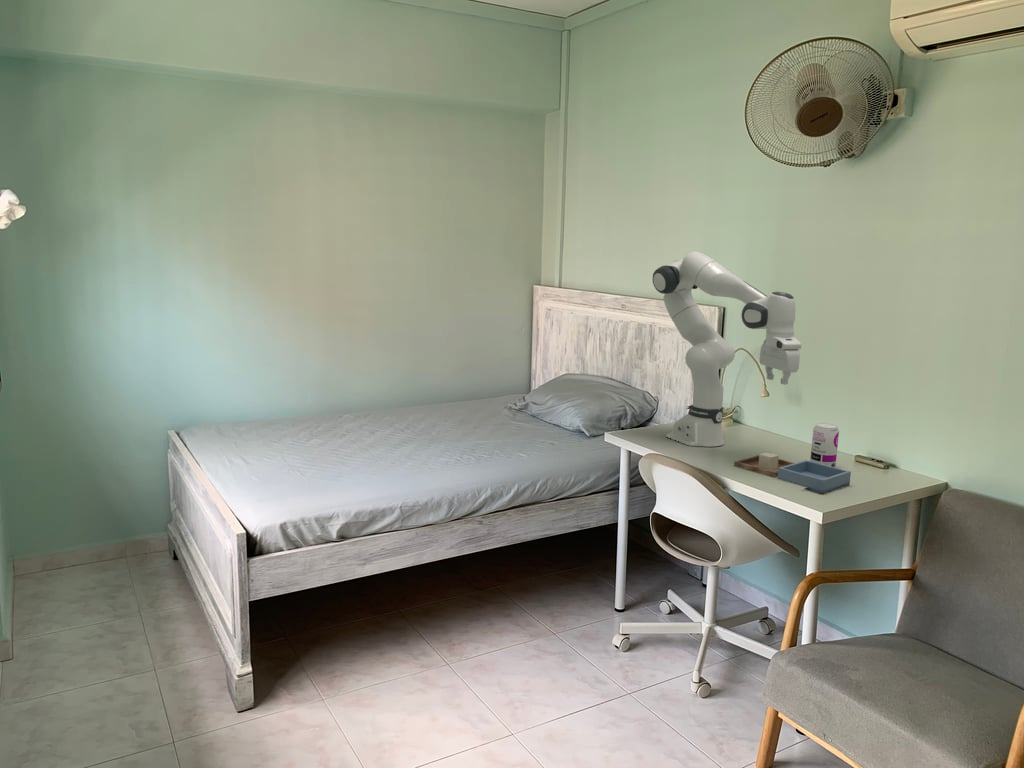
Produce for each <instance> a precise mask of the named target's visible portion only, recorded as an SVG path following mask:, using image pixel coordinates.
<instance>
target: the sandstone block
mask: <svg viewBox="0 0 1024 768" xmlns="http://www.w3.org/2000/svg"><path fill="white" fill-rule="evenodd" d="M758 455H759V465H758V467H760V468H763V469H767V470H773V469H776V468H778V459H779V454H777V453H776V454H775V453H772V452H762V453H760V454H758Z"/></svg>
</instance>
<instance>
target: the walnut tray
mask: <svg viewBox="0 0 1024 768" xmlns="http://www.w3.org/2000/svg"><path fill="white" fill-rule="evenodd" d="M794 463H795V462H792V461H789V460H786V459H781V458H778V468H780V467H784V466H787V465H791V464H794ZM758 465H759V454H758V455H757V454H756V455H754V456H751V457H747V458H743V459H739V460H735V461H734V462H733V467H737V468H740V469H743V470H746V471H750V472H754V473H757V474H761V475H765V476H767V477H771V478H773V479H774V478H778V468H776V469H773V470H767V469H763V468H760V467H758Z"/></svg>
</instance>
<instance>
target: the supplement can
mask: <svg viewBox="0 0 1024 768" xmlns="http://www.w3.org/2000/svg"><path fill="white" fill-rule="evenodd" d="M839 434H840V430H839V428H838V425H837V424H833V423H826V422H818V423H815V426H813V428H812V439H811V450H810V460H809V461H812V462H815V463H819V464H823V465H827V466H831V467H835V468H837V467H836V465H837V464H836V463H837V455H838V446H839V436H840V435H839Z"/></svg>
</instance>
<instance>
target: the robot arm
mask: <svg viewBox="0 0 1024 768" xmlns="http://www.w3.org/2000/svg"><path fill="white" fill-rule="evenodd" d="M652 285H653V287H654V289H656V291H657V292H658V293H660V294H661V295H662V294H663V298H662V299H663V303H664V305H665V308H666V311H667V313H668V316H669V317H670V318H671V321H672V322H673V324H674V326H675V327H676V329H677V332H678V333H679V334H680V336H681V337H682V339H684V340H685V341H687V342H688V343H690V344H691V345H692V347H690V348H689V349H687V352H685V353H686V354H685V358H684V359H685V364H686V366H687V367H688V369H689V370H690V373H691V378H692V384H693V385H692V386H693V388H692V404H690V405H687V406H686V410H688V413H687V414H685V415H684V416H682V417H681V418H679V419H678V420H676V421H675V422H674V424H673V428H672V431H670V432H668V433H667V434H666V436H665V437H666V438H667V437H668V439H670V438H671V439H670V440H673V441H675V440H676V441H675V442H678V441H679V443H681V444H684V445H687V446H688V447H689V446H690V447H711V448H712V447H719V446H724V444H725V440H724V436H723V424H722V423H723V422H722V421H723V418H724V407H723V401H724V399H723V398H724V385H723V384H722V383H721V379H720V373H719V370H720V369H725V368H726V367H728V366H729V365H730V364H731V363H732V362H733V361H734V359H735V355H736V350H735V348H734V346H733V345H732V344H731V343H730V342H729V341H727V340H725V338H723V337H722V336H721V334H719V333H718V332H717V331H716V329H715V328H714V327H713V326H712V325H711V324H710V323H709V321H708V320H707V318H706V317H705V315H704V314H703V311H702V310H701V308H700V307H699V305H698V303H697V301H696V300H695V298H694V297H693V295H692V290H696V289H698V288H699V289H700V290H701V291H702V292H704V293H705V294H708V295H710V296H713V297H723V298H729V299H730V298H731V299H736V300H738V301H739V302H740V301H741V302H742V303H744V304H745V305H744V306H743V307H742V310H741V321H742V323H743V324H744V326H745V327H747V328H748V329H752V330H764V329H765V330H766V333H765V339H764V341H763V342H762V344H761V346H760V351H759V357H758V358H759V364H760V365H762V366H765V368H764V369H765V372H766V379H767V380H769V381H773V380H774V376H775V374H773V369H775V370H778V371H782V378H780V384H782V385H788V384H789V378H790V376H791V373H793V374H794V373H797V372H798V371H799V367H800V360H801V358H800V357H801V352H800V349H802V343H801V341H799V340H798V339H797V338H796V336H795V328H794V324H795V322H796V300H795V298H794V296H793V295H792V294H790V293H788V292H782V291H773V292H770V293H769V294H768V295H766V294H765V293H763V292H762V291H760V290H759V289H758V288H756V287H755V286H752V285H751V284H749V283H748V282H746V281H744V280H742V279H741V278H740V277H738V276H737V275H735V274H733V272H731V271H729V270H728V269H727V268H725V267H724V266H723V265H721V264H720V263H719V262H718V261H716V260H715V259H713V258H712V257H710V256H709V255H707V254H704V253H702V252H700V251H695V250H694V251H691V252H689V253H687V254H686V255H685V257H684V258H682V259H676V260H674V261H673V262H670V263H668V264H665V265H661V266H659V267H657V268H656V269H655V270H654V272H653V274H652Z"/></svg>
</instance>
